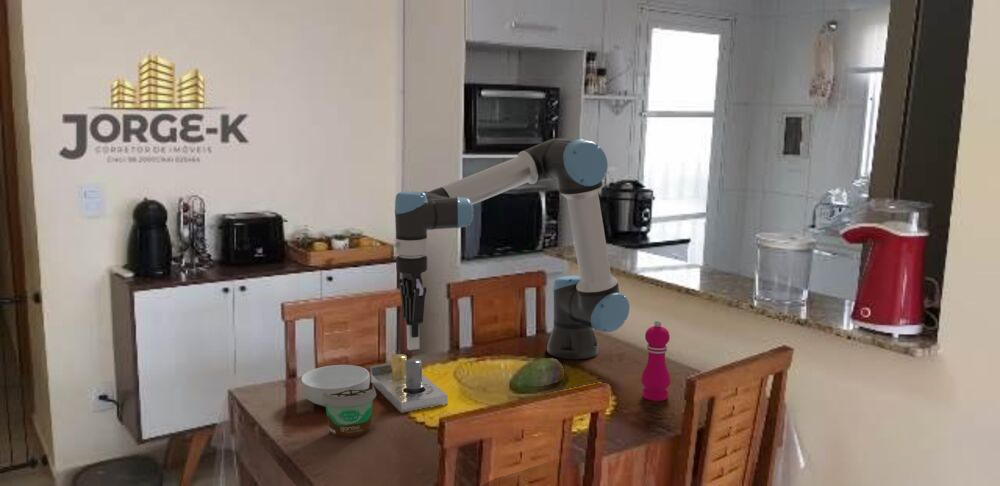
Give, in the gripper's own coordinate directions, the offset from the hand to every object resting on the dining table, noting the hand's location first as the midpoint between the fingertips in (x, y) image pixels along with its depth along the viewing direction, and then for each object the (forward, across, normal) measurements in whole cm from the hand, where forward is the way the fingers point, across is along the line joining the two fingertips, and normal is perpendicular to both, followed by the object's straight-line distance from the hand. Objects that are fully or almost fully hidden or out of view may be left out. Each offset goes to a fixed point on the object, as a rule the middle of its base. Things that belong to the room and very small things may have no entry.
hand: (413, 348), depth 198 cm
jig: (+13, -5, 0) cm, 14 cm away
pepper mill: (+13, +26, +55) cm, 62 cm away
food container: (+14, +14, -20) cm, 28 cm away
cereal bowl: (+14, -7, -18) cm, 24 cm away
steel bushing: (+13, 0, 0) cm, 13 cm away
